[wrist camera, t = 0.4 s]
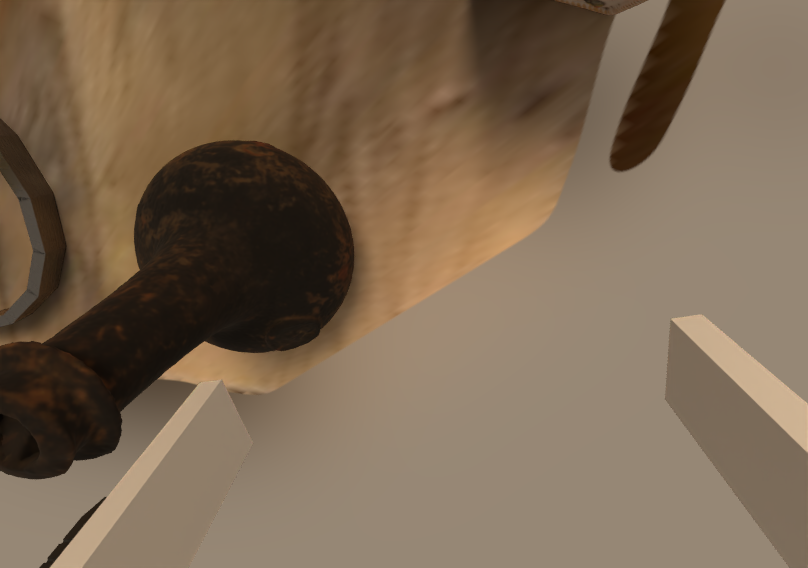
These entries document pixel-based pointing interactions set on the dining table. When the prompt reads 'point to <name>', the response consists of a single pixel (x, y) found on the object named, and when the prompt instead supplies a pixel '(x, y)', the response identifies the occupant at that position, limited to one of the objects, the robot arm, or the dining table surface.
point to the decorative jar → (604, 5)
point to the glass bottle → (182, 298)
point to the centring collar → (32, 225)
